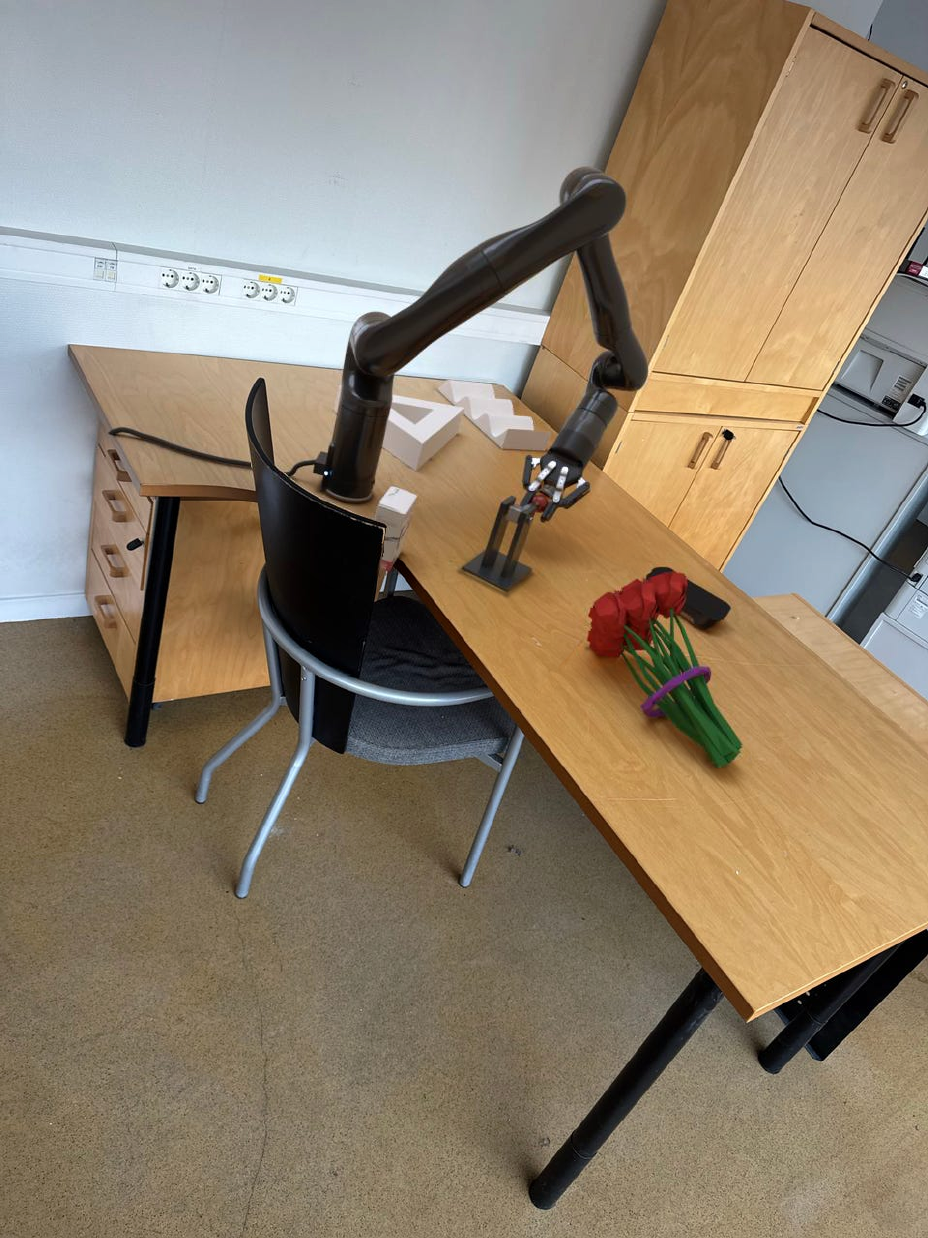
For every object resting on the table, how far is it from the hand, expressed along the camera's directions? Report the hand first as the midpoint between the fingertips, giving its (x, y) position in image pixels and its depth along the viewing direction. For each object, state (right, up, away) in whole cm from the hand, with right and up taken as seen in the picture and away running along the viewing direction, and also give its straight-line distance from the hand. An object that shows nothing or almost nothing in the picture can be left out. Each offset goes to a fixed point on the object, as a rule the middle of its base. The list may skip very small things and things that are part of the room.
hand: (532, 515), depth 153 cm
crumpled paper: (+5, +9, +33) cm, 35 cm away
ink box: (-26, -9, -10) cm, 30 cm away
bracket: (-7, -11, -4) cm, 13 cm away
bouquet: (+17, -32, -25) cm, 44 cm away
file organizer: (-6, +32, +63) cm, 71 cm away
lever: (-2, -1, -4) cm, 4 cm away
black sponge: (+28, -17, +5) cm, 33 cm away
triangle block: (-23, +23, +40) cm, 52 cm away
